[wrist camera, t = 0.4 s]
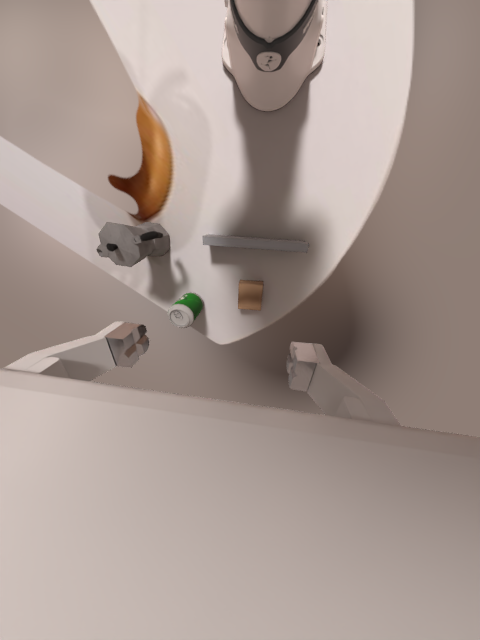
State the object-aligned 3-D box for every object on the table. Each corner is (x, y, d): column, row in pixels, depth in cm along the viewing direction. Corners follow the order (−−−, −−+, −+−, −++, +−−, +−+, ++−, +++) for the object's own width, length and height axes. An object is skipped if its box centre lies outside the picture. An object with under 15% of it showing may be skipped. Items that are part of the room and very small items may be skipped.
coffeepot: (144, 261, 56) (98, 277, 40) (128, 228, 52) (69, 232, 36) (188, 248, 53) (156, 259, 37) (175, 211, 48) (132, 207, 33)
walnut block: (240, 279, 56) (238, 283, 52) (263, 281, 55) (263, 285, 51) (239, 303, 59) (238, 308, 56) (260, 305, 59) (260, 310, 55)
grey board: (209, 234, 50) (202, 236, 45) (304, 241, 48) (309, 243, 43) (209, 242, 51) (202, 244, 46) (302, 249, 49) (307, 252, 44)
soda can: (197, 288, 58) (183, 302, 48) (208, 307, 61) (196, 325, 51) (178, 295, 60) (160, 311, 50) (189, 314, 63) (174, 332, 53)
